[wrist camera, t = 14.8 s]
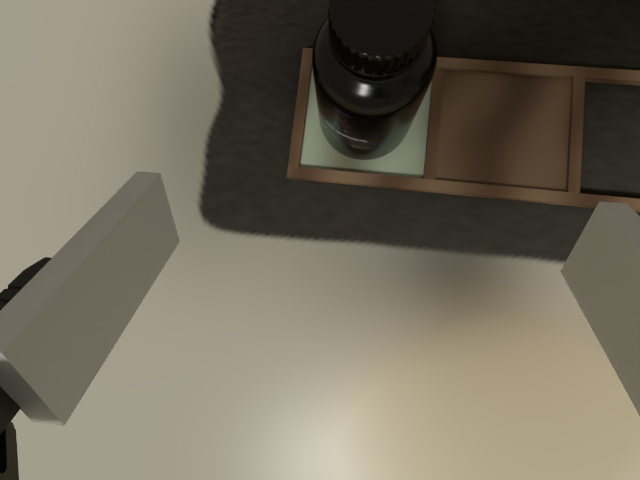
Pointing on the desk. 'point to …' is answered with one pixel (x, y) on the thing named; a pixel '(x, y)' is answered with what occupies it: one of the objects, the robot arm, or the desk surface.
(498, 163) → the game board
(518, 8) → the desk surface
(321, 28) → the supplement bottle
